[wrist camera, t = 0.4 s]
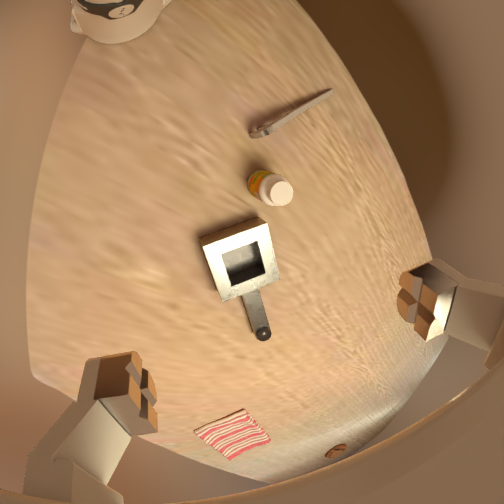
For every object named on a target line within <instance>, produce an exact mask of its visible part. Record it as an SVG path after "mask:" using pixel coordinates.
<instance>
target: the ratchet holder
mask: <svg viewBox="0 0 504 504" xmlns="http://www.w3.org/2000/svg"><path fill="white" fill-rule="evenodd" d="M199 240H200V243H201V246H202V249H203V252H204V255H205V258H206V260H207V263H208V266H209V269H210V272H211V274H212V277H213V280H214V283H215V285H216V288H217V291H218V293H219V295H220V297H221V299H222V302H225V301H228V300H230V299H233V298H235V297H238V296H240V295H241V297H242V300H243V303H244V306H245V309H246V312H247V315H248V318H249V321H250V324H251V327H252V330H253V333H254V335H255V337H256V338H257V339H259V340H260V341H266V340H268V339H269V338H270V337H271V330H270V327H269V323H268V320H267V316H266V313H265V309H264V306H263V302H262V299H261V295H260V291H259V288H260V287H263V286H265V285H268V284H270V283H273V282H275V281H277V280H280V275H279V271H278V267H277V263H276V258H275V254H274V250H273V246H272V242H271V237H270V233H269V229H268V225H267V223H266V222H265V221H264V220H262V219H261V218H260V217H256V218H253V219H251V220H248V221H245V222H242V223H239V224H237V225H234V226H231V227H228V228H226V229H223V230H220V231H217V232H215V233H212V234H209V235H206V236H204V237H201V238H199Z"/></svg>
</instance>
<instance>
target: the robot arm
mask: <svg viewBox="0 0 504 504" xmlns="http://www.w3.org/2000/svg"><path fill="white" fill-rule="evenodd" d="M171 1H172V0H70V3H71V5H72V10H71V21H70V30H71V32H73V33H76V34H85V35H87V36H88V37H90V38H91V39H93V40H95V41H97V42H100V43H105V44H117V43H123V42H126V41H129V40H132V39H134V38H136V37H138V36H140V35H141V34H143V33H144V32H146V31H147V30H148V29H149V28H150V27H151V26H152V25H153V24H154V23H155V21H156V20H157V18H158V16H159V14H160V12H161V11H162V9H163V8H164V7H166V6H167V5H168V4H169V3H170V2H171ZM75 21H76V22H75ZM399 285H400V286H401V290H400V292H399V293H398V295H397V308H398V312H399V313H400V315H401V317H402V318H403V319H404V320H405V321H406V322H409V323H413V324H414V330H415V331H416V332H417V333H418V334H419V335H420V336H421V337H422V338H423V339H424V340H425V341H428V340H430V339H432V338H434V337H435V336H437V335H439V334H441V333H443V332H444V333H445V334H448V335H450V336H453V337H455V338H457V339H460V340H462V341H464V342H467V343H469V344H472V345H474V346H476V347H479V348H481V349H483V350H486V351H488V352H489V353H488V355H487V357H486V359H485V362H484V365H485V366H486V367H487V368H488V369H489V371H487V372H486V373H485V374H484V375H483V376H481V377H480V378H479V379H478V380H477V381H475V382H474V383H473V384H471V385H470V386H469V387H468V388H466V389H465V390H464V391H462V392H461V393H460V394H458V395H457V396H455V397H454V398H453V399H451V400H450V401H449V402H447V403H446V404H444V405H443V406H441V407H440V408H438V409H437V410H435V411H434V412H432V413H431V414H429V415H428V416H426V417H424V418H423V419H421V420H420V421H418V422H416V423H415V424H413V425H411V426H410V427H408V428H406V429H404V430H403V431H401V432H399V433H397V434H396V435H394V436H392V437H390V438H388V439H386V440H384V441H383V442H380V443H379V444H377V445H374V446H372V447H370V448H368V449H367V450H364V451H362V452H360V453H358V454H356V455H353V456H351V457H349V458H346V459H344V460H342V461H339V462H337V463H335V464H332V465H330V466H327V467H324V468H322V469H319V470H316V471H314V472H311V473H308V474H305V475H302V476H299V477H296V478H293V479H290V480H287V481H284V482H280V483H277V484H273V485H270V486H266V487H262V488H259V489H255V490H250V491H246V492H242V493H237V494H233V495H227V496H222V497H216V498H211V499H204V500H197V501H189V502H180V503H170V504H504V285H500V284H495V283H491V282H487V281H482V280H477V279H473V278H471V279H468V278H466V277H465V276H463V275H462V274H461V273H459V272H457V271H456V270H455V269H453V268H452V267H450V266H449V265H447V264H446V263H444V262H443V261H441V260H440V259H433V260H431V261H428V262H426V263H424V264H422V265H420V266H417V267H415V268H412V269H410V270H407V271H405V272H402V274H401V276H400V279H399ZM156 401H157V396H156V389H155V385H154V382H153V379H152V377H151V375H150V373H149V372H148V371H147V370H145V369H144V368H142V359H141V358H140V356H139V355H138V353H137V352H135V351H131V352H125V353H120V354H114V355H108V356H103V357H97V358H90V359H88V360H87V361H86V363H85V367H84V371H83V375H82V380H81V384H80V389H79V394H78V399H77V402H72V404H71V405H70V406H69V407H68V408H67V409H66V411H65V412H64V413H63V414H62V415H61V417H60V418H59V419H58V420H57V421H56V422H55V424H54V425H53V426H52V427H51V428H50V429H49V431H48V432H47V433H46V434H45V435H44V437H43V438H42V439H41V440H40V441H39V443H38V444H37V445H36V446H35V447H34V449H33V450H32V451H31V452H30V454H29V455H28V459H27V465H26V471H25V478H24V485H23V493H22V494H19V493H15V492H11V491H7V490H4V489H0V504H124V502H123V497H122V496H121V495H120V494H119V493H118V492H116V491H114V490H113V489H111V488H110V487H108V486H107V484H108V481H109V480H110V478H111V476H112V474H113V472H114V470H115V468H116V466H117V464H118V462H119V461H120V458H121V457H122V455H123V453H124V451H125V449H126V447H127V445H128V443H129V442H130V440H131V437H130V436H137V435H144V434H150V433H156V432H158V422H157V412H156V411H155V410H154V408H153V406H154V404H155V403H156Z"/></svg>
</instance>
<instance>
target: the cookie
mask: <svg viewBox="0 0 504 504" xmlns="http://www.w3.org/2000/svg"><path fill="white" fill-rule="evenodd" d="M346 448H347V446H346V445H345V444H339V445H337V446H335V447H334V448H332V449H331V450H329V451H328V452H327V453H326V455H325V456H326V457H327V458H334V457H336V456H338V455H341V454H342V453H343V452H344V450H345V449H346Z"/></svg>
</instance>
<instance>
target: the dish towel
mask: <svg viewBox="0 0 504 504" xmlns="http://www.w3.org/2000/svg"><path fill="white" fill-rule="evenodd" d="M194 432H195V434H196V435H197V436H198V437H200V438H201V439H202V440H203V441H205V442H206V443H208V444H209V445H211V446H212V447H213V448H214V449H216V450H217V451H220V452H221V453H222V454H223V456H225V457H226V458H228V460H229V461H230V460H232V459H233V458H234V457H236V456H238V455H240V454H241V453H243V452H244V451H246V450H249V449H252V448H254V447H256V446H259V445H263V444H266V443H269V442H270V441H271V440H270V438H269V436H268V435H267V433H266V431H265V430H264V429H262V428H261V426H260V425H259V424H258V423H257V422H256V421H255V420H254V419H253V418H252V416H251V415H250V414H249V413H247V412H246V410H241V411H238V412H236V413H234V414H232V415H229V416H227V417H224V418H222V419H219V420H217V421H214V422H212V423H209V424H207V425H205V426H202V427H201V428H198V429H196V430H195V431H194Z"/></svg>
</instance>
